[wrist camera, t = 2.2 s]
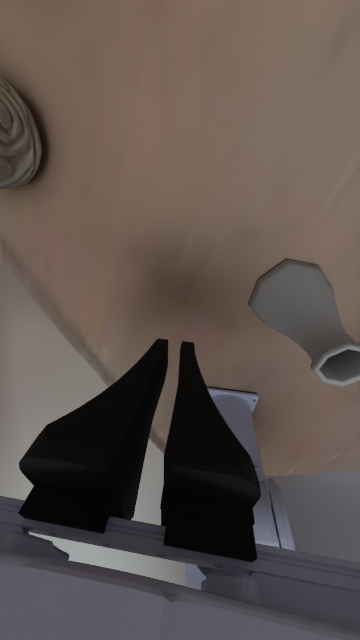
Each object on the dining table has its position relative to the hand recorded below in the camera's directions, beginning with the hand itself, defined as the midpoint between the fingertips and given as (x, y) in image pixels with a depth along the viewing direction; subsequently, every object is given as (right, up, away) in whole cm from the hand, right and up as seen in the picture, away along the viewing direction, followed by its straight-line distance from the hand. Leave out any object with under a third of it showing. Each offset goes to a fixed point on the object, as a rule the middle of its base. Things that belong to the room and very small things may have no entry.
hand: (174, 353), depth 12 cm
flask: (+11, +5, +8) cm, 15 cm away
